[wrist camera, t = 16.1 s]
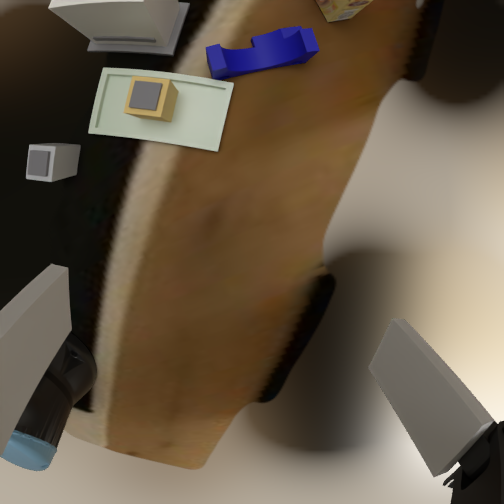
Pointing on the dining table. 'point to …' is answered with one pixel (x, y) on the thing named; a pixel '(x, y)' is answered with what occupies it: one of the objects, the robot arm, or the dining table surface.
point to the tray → (184, 116)
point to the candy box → (341, 8)
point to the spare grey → (52, 161)
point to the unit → (126, 24)
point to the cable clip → (263, 53)
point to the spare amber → (151, 98)
